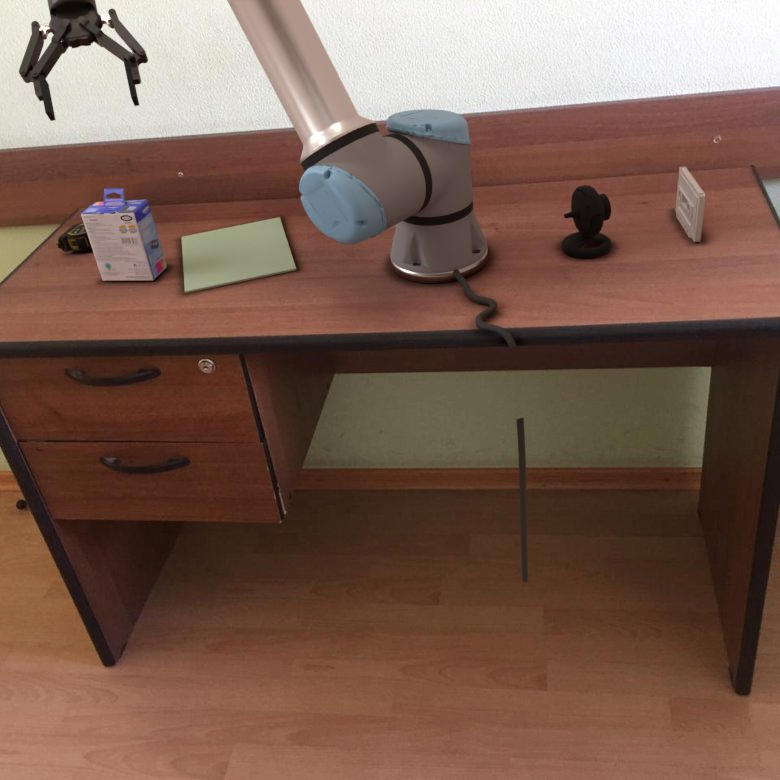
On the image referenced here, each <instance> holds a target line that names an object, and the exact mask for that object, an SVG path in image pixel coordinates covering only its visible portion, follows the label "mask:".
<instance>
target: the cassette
mask: <svg viewBox="0 0 780 780" xmlns="http://www.w3.org/2000/svg"><path fill="white" fill-rule="evenodd" d="M677 177H678V179H677V189H676V190H677V191H676V198H675V199H676V201H675V210H674V211H675V213H676V214H675V217H676V219H677V220H678V222H679V224H680V225H681V227H682V229H683V230H684V232H685V233H686V235H687V237H688V238H689V239H692V241H693V243H700V242H701V240H702V232H703V222H704V213H705V204H706V194H705V191H704V190H703V189H702V187H701V186H700V184H698V182H697V181H696V179H695V178H694V176H693V175H692V173H691V172H690V171H689V169H688V168H687V167H686V165H685V166H679V168H678V176H677Z"/></svg>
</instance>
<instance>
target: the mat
mask: <svg viewBox="0 0 780 780" xmlns="http://www.w3.org/2000/svg"><path fill="white" fill-rule="evenodd" d="M181 254H182V268H183V269H182V270H183V285H184V286H183V287H184V294H189V293H194V292H199V291H200V292H201V291H205V290H208V289H214V288H219V287H224V286H228V285H233V284H239V283H243V282H248V281H252V280H253V281H254V280H256V279H257V280H258V279H262V278H267V277H271V276H276V275H281V274H286V273H290V272H295V271H297V266H296V263H295V260H294V258H293V253H292V251H291V247H290V245H289V241H288V239H287V236H286V232H285V229H284V226H283V222H282V219H281V216H279V217H273V218H268V219H264V220H263V219H262V220H259V221H254V222H249V223H244V224H238V225H234V226H227V227H223V228H218V229H213V230H208V231H203V232H198V233H192V234H187V235H183V236H181Z"/></svg>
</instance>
